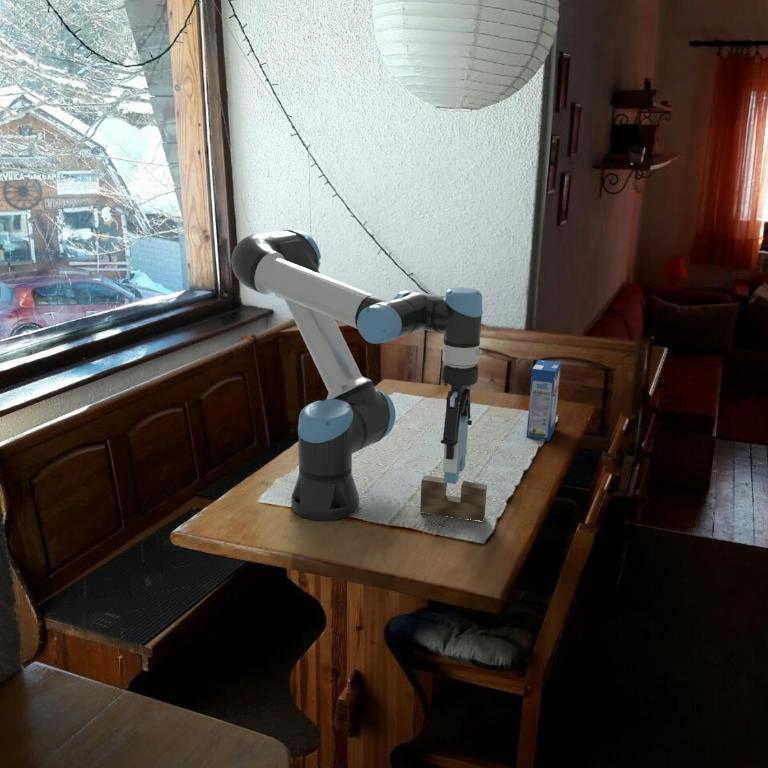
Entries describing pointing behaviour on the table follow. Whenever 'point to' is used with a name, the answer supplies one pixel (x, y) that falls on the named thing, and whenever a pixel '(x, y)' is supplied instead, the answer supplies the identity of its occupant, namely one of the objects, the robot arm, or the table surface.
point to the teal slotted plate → (459, 451)
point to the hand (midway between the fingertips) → (455, 462)
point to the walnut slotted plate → (453, 499)
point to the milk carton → (543, 399)
